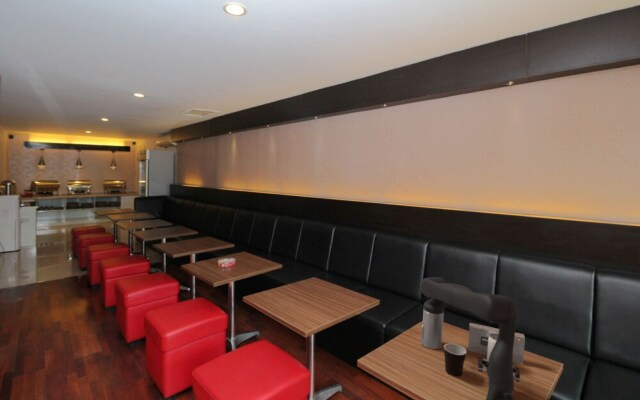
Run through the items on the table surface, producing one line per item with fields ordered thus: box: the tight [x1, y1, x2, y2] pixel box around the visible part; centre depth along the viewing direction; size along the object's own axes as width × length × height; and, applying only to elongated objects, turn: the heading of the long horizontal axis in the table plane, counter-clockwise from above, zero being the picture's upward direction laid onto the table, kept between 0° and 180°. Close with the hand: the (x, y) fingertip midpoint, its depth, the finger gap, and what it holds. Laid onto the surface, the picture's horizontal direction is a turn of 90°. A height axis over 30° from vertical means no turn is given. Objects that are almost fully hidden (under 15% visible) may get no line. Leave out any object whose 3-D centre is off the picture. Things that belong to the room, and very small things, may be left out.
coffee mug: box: [443, 343, 467, 378], centre depth 130 cm, size 12×9×10 cm
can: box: [487, 334, 498, 361], centre depth 136 cm, size 6×6×12 cm
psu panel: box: [467, 322, 526, 365], centre depth 142 cm, size 22×4×12 cm, turn 63°
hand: (497, 359), depth 127 cm, fingers open, 8 cm apart
